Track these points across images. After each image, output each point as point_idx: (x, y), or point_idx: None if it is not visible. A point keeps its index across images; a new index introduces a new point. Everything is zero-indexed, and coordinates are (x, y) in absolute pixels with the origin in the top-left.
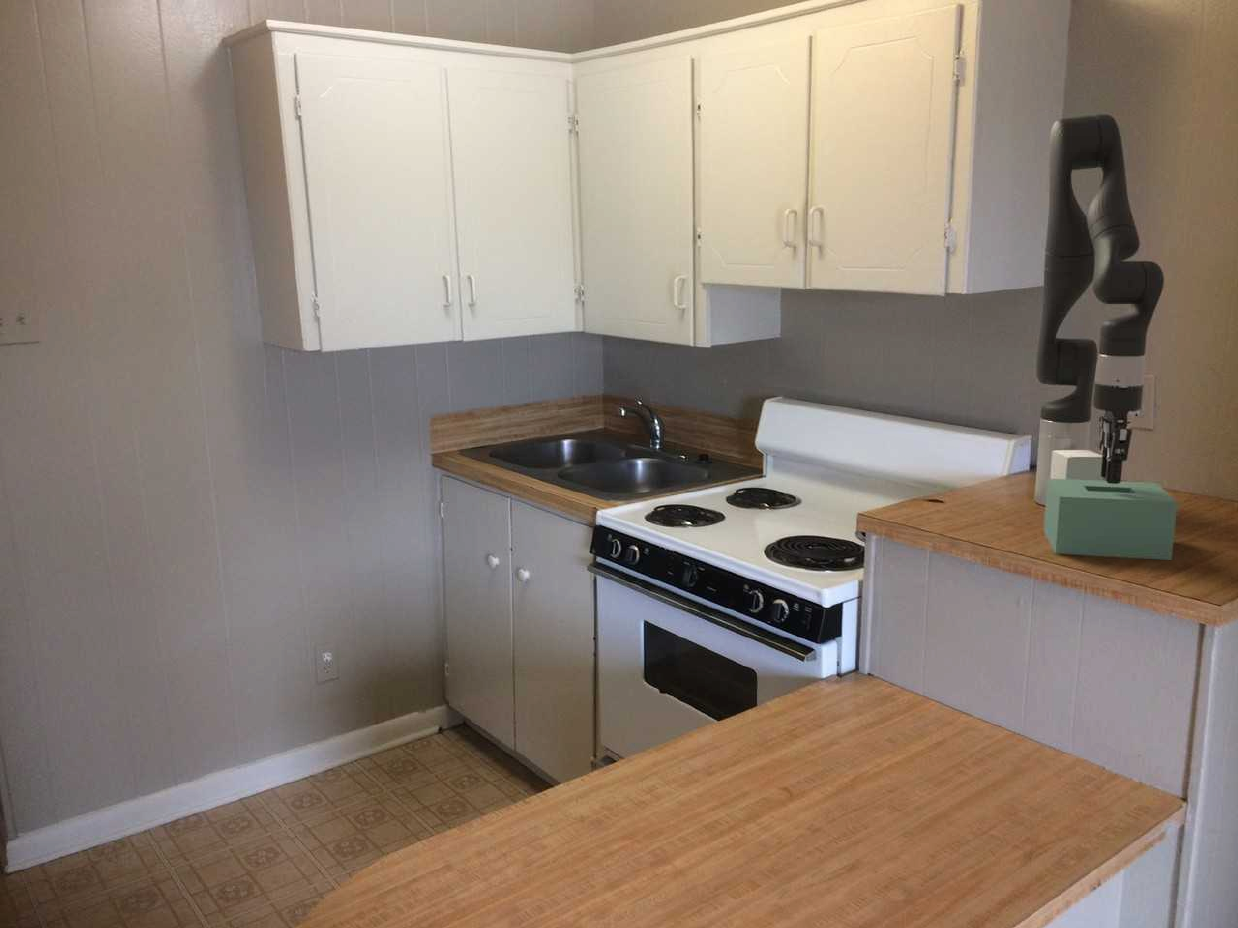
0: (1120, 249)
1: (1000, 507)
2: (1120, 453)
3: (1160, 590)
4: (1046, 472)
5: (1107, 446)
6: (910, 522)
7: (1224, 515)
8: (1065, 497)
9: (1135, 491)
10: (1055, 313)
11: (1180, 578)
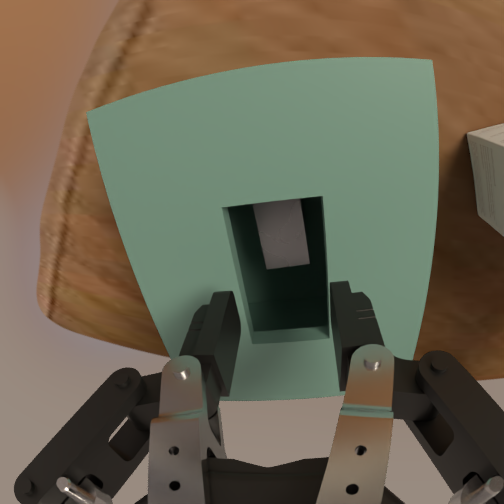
0: None
1: None
2: (136, 423)
3: (55, 269)
4: None
5: (153, 421)
6: None
7: (489, 376)
8: (92, 130)
9: (278, 346)
10: None
11: (119, 303)
